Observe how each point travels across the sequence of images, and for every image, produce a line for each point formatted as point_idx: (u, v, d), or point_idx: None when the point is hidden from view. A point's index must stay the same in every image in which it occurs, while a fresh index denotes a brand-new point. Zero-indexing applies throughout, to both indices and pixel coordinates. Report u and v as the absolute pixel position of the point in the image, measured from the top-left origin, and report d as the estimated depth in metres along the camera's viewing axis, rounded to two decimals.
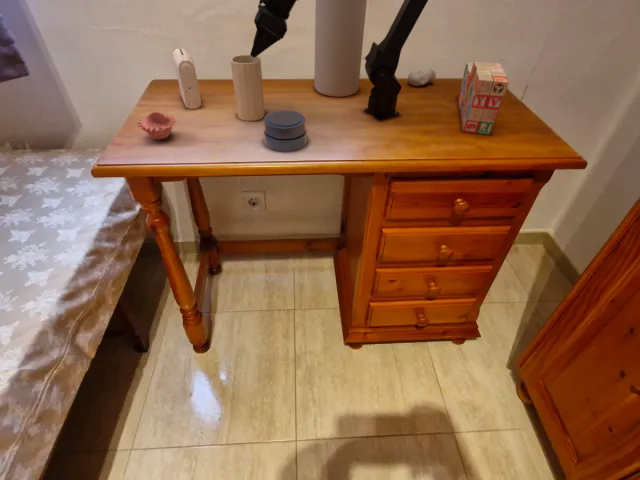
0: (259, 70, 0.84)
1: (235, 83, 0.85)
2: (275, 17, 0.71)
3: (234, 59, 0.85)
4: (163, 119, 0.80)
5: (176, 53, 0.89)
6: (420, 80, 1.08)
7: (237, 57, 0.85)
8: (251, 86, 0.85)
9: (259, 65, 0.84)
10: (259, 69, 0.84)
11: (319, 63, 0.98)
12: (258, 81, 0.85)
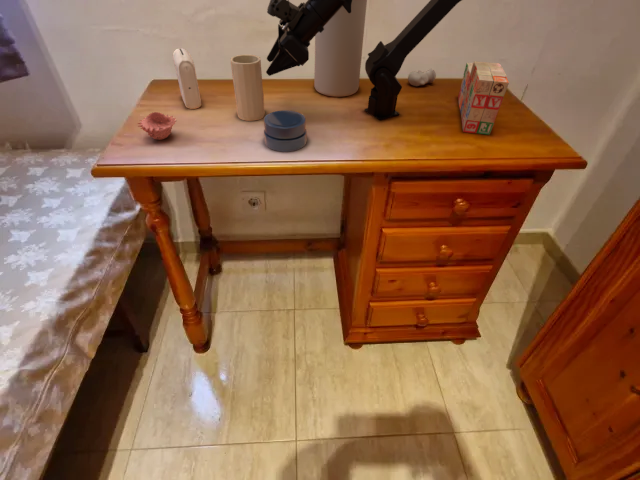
0: (259, 70, 0.84)
1: (235, 83, 0.85)
2: (300, 45, 0.75)
3: (234, 59, 0.85)
4: (163, 119, 0.80)
5: (176, 53, 0.89)
6: (420, 80, 1.08)
7: (237, 57, 0.85)
8: (251, 86, 0.85)
9: (259, 65, 0.84)
10: (259, 69, 0.84)
11: (319, 63, 0.98)
12: (258, 81, 0.85)
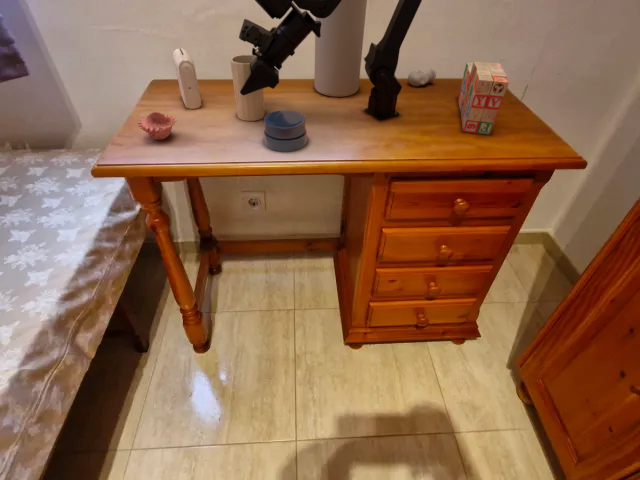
0: None
1: (235, 83, 0.85)
2: (270, 70, 0.77)
3: (234, 59, 0.85)
4: (163, 119, 0.80)
5: (176, 53, 0.89)
6: (420, 80, 1.08)
7: (237, 57, 0.85)
8: None
9: None
10: None
11: (319, 63, 0.98)
12: None
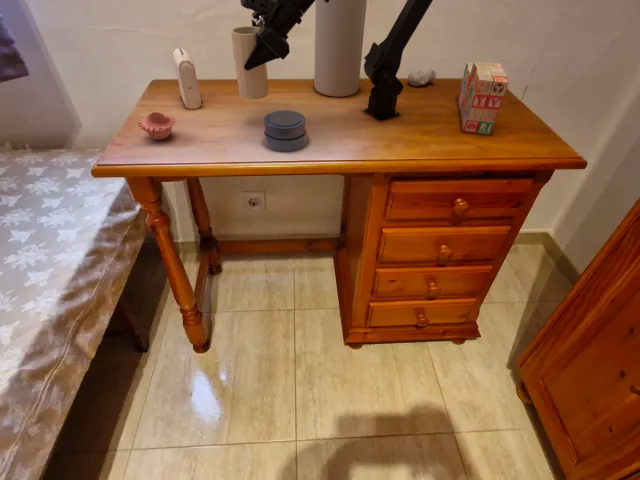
0: None
1: (237, 57, 0.78)
2: (280, 38, 0.71)
3: (234, 31, 0.77)
4: (163, 119, 0.80)
5: (176, 53, 0.89)
6: (420, 80, 1.08)
7: (237, 29, 0.78)
8: None
9: None
10: None
11: (319, 63, 0.98)
12: None
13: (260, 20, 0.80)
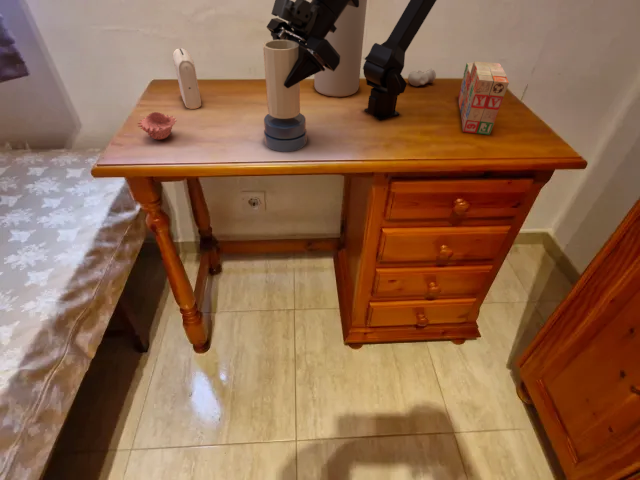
0: None
1: (274, 75, 0.71)
2: (333, 49, 0.66)
3: None
4: (163, 119, 0.80)
5: (176, 53, 0.89)
6: (420, 80, 1.08)
7: (266, 44, 0.70)
8: None
9: None
10: None
11: None
12: None
13: (283, 32, 0.73)
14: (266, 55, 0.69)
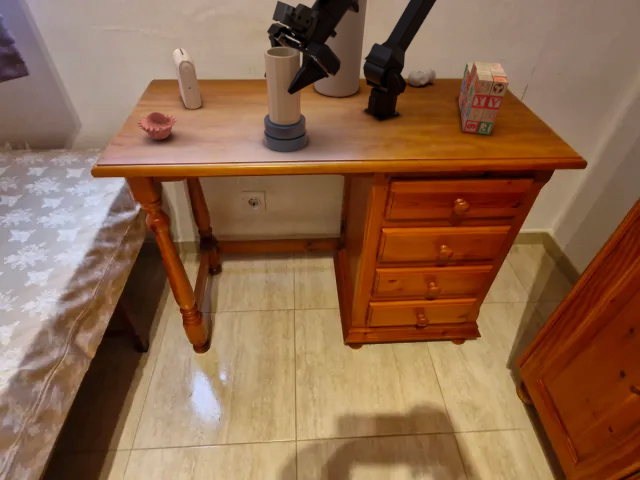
0: None
1: (275, 82, 0.71)
2: (334, 54, 0.67)
3: None
4: (163, 119, 0.80)
5: (176, 53, 0.89)
6: (420, 80, 1.08)
7: (268, 52, 0.71)
8: None
9: None
10: None
11: None
12: None
13: (281, 35, 0.74)
14: (267, 62, 0.70)
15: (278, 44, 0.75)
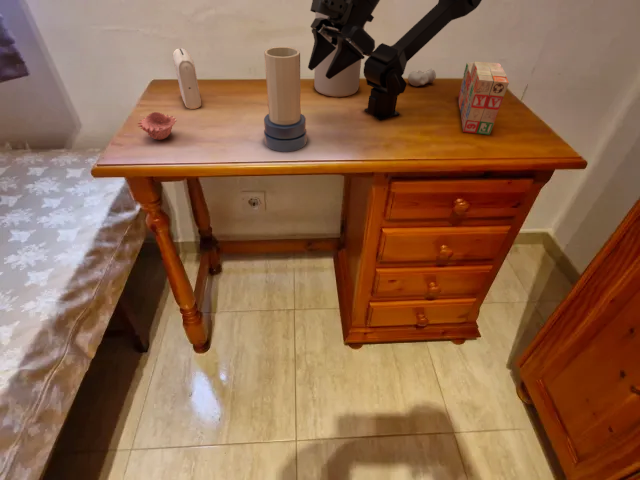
0: None
1: (275, 82, 0.71)
2: (367, 34, 0.69)
3: None
4: (163, 119, 0.80)
5: (176, 53, 0.89)
6: (420, 80, 1.08)
7: (268, 52, 0.71)
8: (296, 82, 0.72)
9: None
10: None
11: None
12: (299, 75, 0.73)
13: (322, 27, 0.79)
14: (267, 62, 0.70)
15: (320, 36, 0.79)
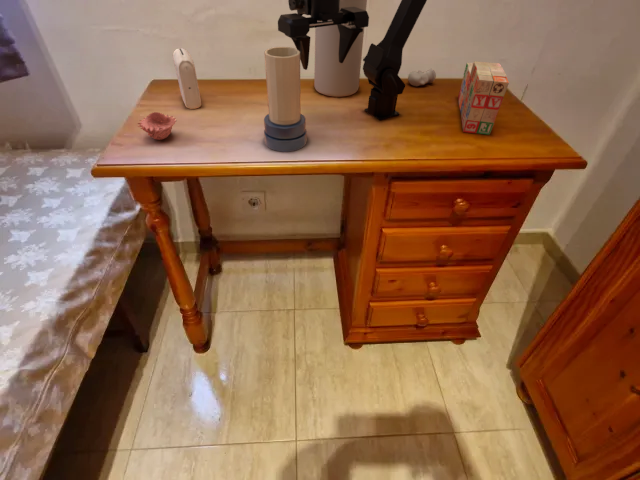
0: None
1: (275, 82, 0.71)
2: (285, 18, 0.71)
3: None
4: (163, 119, 0.80)
5: (176, 53, 0.89)
6: (420, 80, 1.08)
7: (268, 52, 0.71)
8: (296, 82, 0.72)
9: None
10: None
11: (319, 63, 0.98)
12: (299, 75, 0.73)
13: None
14: (267, 62, 0.70)
15: (340, 27, 0.80)
